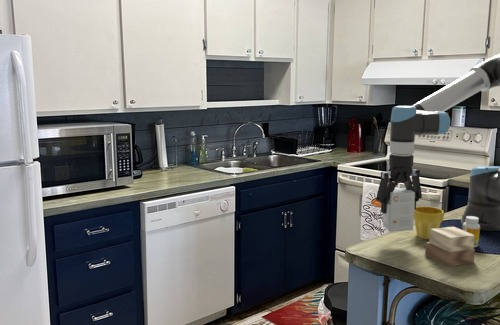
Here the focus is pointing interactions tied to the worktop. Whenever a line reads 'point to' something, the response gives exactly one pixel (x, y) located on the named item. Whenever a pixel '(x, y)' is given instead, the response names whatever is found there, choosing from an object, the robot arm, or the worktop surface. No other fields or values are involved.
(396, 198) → the small box
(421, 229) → the plant pot
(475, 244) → the supplement bottle
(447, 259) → the walnut slab
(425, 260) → the worktop surface
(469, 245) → the maple slab
